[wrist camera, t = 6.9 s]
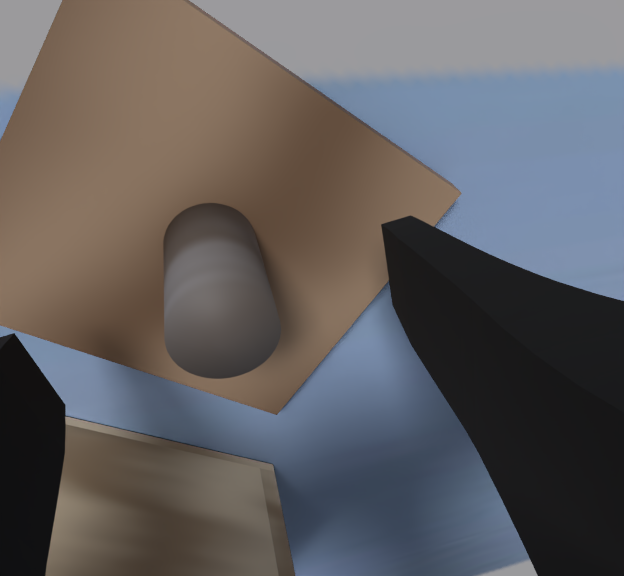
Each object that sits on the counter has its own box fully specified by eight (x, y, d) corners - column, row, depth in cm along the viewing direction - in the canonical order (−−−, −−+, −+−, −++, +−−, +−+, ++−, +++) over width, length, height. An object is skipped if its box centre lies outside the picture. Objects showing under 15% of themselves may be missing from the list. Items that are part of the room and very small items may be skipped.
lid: (-56, 276, 14) (-137, 416, 10) (96, -67, 10) (62, -48, 7) (271, 389, 18) (299, 514, 14) (444, 175, 15) (536, 265, 11)
